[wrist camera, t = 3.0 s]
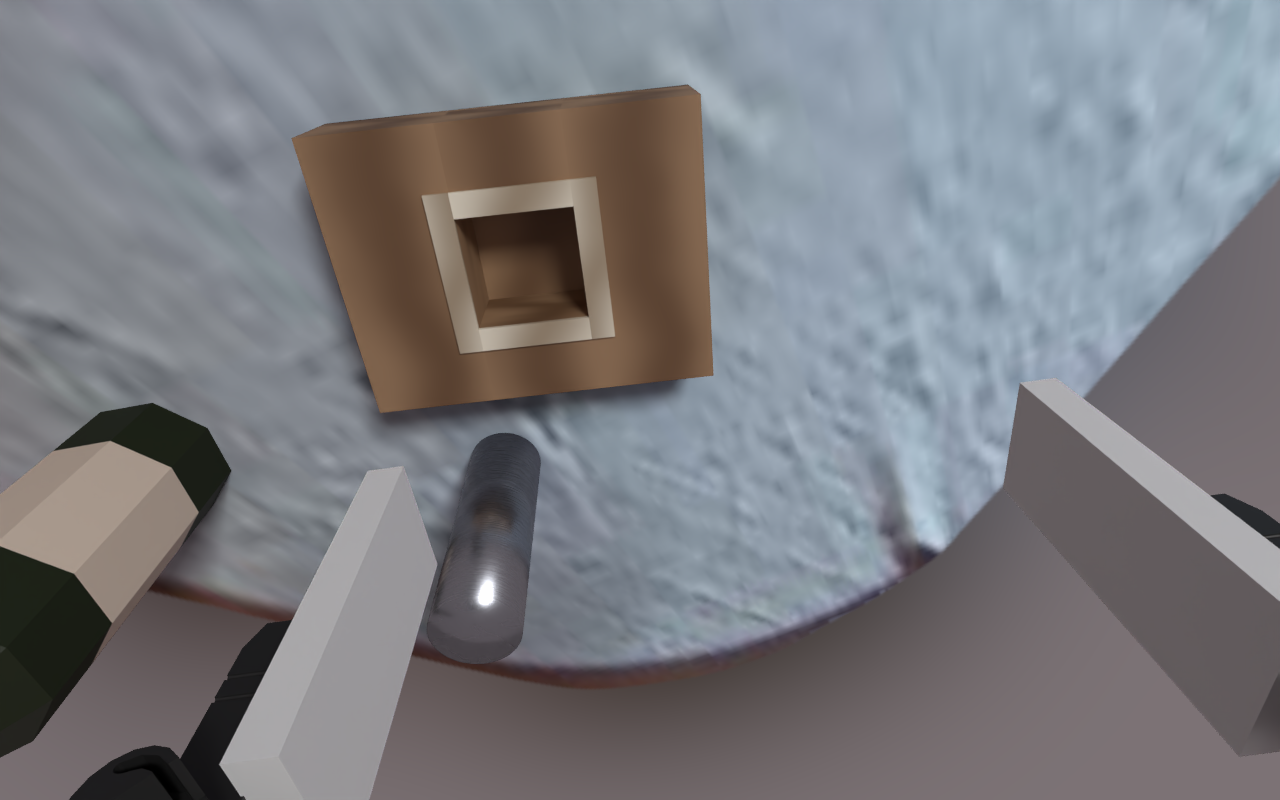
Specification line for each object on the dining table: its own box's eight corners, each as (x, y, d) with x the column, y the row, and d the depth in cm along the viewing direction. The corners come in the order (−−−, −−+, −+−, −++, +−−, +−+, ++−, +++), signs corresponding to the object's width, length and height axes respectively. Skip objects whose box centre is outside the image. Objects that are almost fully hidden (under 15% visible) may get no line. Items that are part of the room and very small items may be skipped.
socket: (400, 374, 41) (379, 414, 37) (325, 124, 34) (289, 139, 30) (701, 341, 41) (713, 377, 37) (687, 84, 34) (701, 94, 30)
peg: (479, 493, 46) (439, 668, 33) (464, 437, 44) (416, 602, 31) (545, 485, 46) (529, 658, 34) (534, 429, 44) (513, 591, 31)
